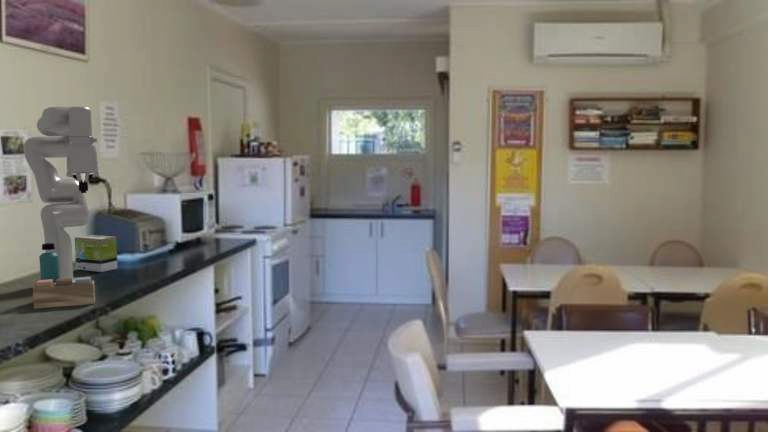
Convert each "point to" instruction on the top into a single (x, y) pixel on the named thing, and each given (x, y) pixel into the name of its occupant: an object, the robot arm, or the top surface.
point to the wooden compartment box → (64, 295)
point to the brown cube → (64, 281)
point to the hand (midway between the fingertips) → (83, 192)
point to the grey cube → (83, 280)
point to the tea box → (96, 253)
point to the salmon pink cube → (44, 283)
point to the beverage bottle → (49, 263)
